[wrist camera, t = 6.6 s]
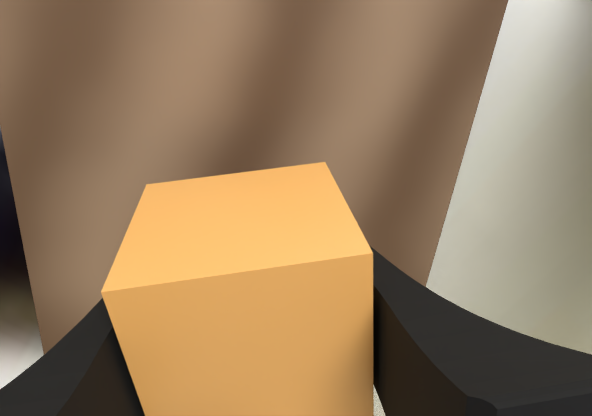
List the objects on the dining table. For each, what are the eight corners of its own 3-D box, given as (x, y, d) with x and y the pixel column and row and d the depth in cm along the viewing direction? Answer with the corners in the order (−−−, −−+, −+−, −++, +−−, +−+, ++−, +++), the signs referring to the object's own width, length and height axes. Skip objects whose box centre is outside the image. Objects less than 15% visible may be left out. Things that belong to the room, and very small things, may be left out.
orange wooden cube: (325, 161, 13) (373, 253, 9) (332, 300, 15) (373, 427, 11) (146, 184, 13) (100, 292, 8) (182, 323, 15) (162, 464, 11)
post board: (493, -4, 15) (587, 1, 11) (397, 347, 22) (433, 428, 18) (-19, -69, 13) (-138, -93, 9) (55, 351, 20) (9, 447, 16)
